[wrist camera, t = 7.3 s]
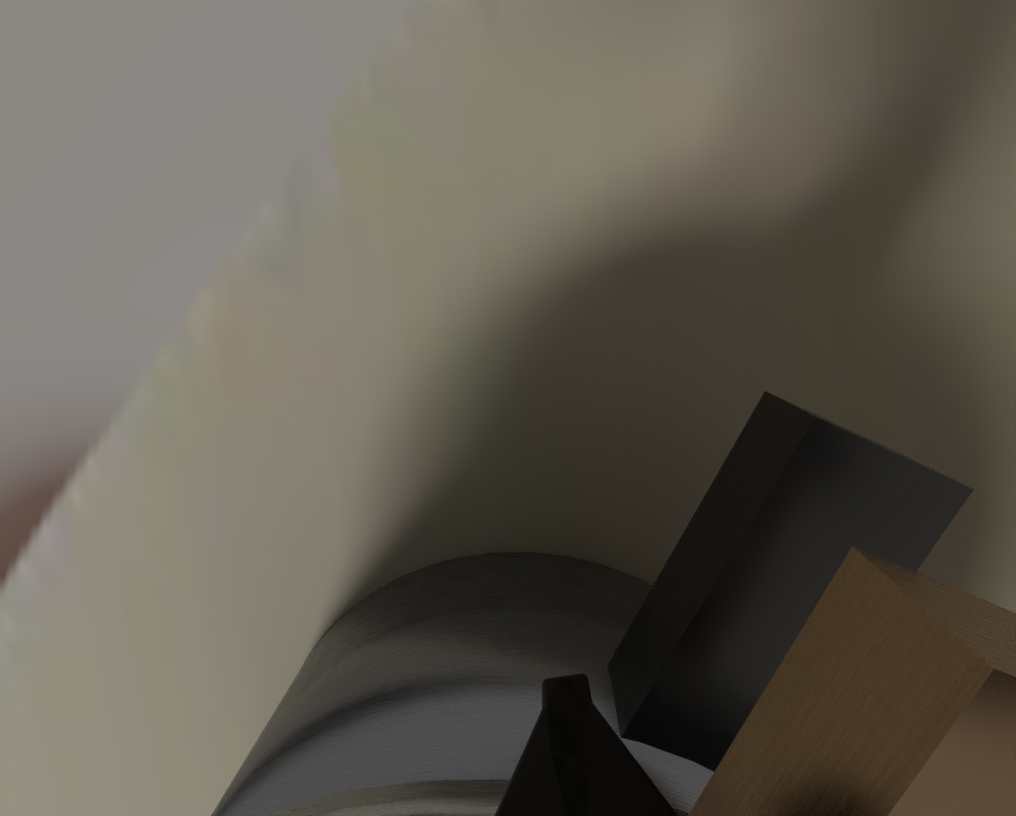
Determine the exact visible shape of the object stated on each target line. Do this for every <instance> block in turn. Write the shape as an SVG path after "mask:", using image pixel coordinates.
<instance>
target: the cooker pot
mask: <svg viewBox="0 0 1016 816" xmlns="http://www.w3.org/2000/svg"><path fill="white" fill-rule="evenodd" d="M972 491H973V489H972V488H970V487H967V486H965V485H963V484H961V483H959V482H957V481H955V480H953V479H951V478H949V477H947V476H945V475H943V474H941V473H939V472H937V471H935V470H933V469H931V468H929V467H927V466H924V465H922V464H920V463H918V462H916V461H914V460H912V459H910V458H908V457H906V456H904V455H902V454H900V453H898V452H896V451H894V450H892V449H889V448H887V447H885V446H883V445H881V444H879V443H876V442H874V441H872V440H870V439H868V438H866V437H863V436H861V435H859V434H857V433H855V432H853V431H850V430H848V429H846V428H844V427H842V426H840V425H837V424H835V423H833V422H831V421H829V420H827V419H824V418H822V417H820V416H818V415H816V414H814V413H811V412H809V411H807V410H805V409H803V408H801V407H798V406H796V405H794V404H792V403H790V402H788V401H785V400H783V399H781V398H779V397H777V396H775V395H772V394H770V393H768V392H766V391H765V392H764V394H763V396H762V398H761V399H760V401H759V403H758V404H757V406H756V408H755V410H754V411H753V413H752V415H751V417H750V418H749V420H748V422H747V424H746V425H745V427H744V429H743V431H742V432H741V434H740V436H739V437H738V439H737V441H736V443H735V444H734V446H733V448H732V450H731V451H730V453H729V455H728V457H727V458H726V460H725V462H724V464H723V465H722V467H721V469H720V470H719V472H718V474H717V476H716V477H715V479H714V481H713V483H712V484H711V486H710V488H709V490H708V491H707V493H706V495H705V496H704V498H703V500H702V502H701V503H700V505H699V507H698V509H697V510H696V512H695V514H694V516H693V517H692V519H691V521H690V523H689V524H688V526H687V528H686V529H685V531H684V533H683V535H682V536H681V538H680V540H679V542H678V543H677V545H676V547H675V549H674V550H673V552H672V554H671V556H670V557H669V559H668V561H667V562H666V564H665V566H664V568H663V569H662V571H661V573H660V575H659V576H658V578H657V580H656V582H655V583H654V585H653V586H651V585H649V584H647V583H645V582H643V581H641V580H639V579H638V578H636V577H633V576H630V575H628V574H625V573H622V572H620V571H617V570H614V569H611V568H609V567H606V566H603V565H600V564H596V563H591V562H587V561H583V560H579V559H575V558H570V557H565V556H556V555H547V554H538V553H493V554H485V555H477V556H469V557H462V558H458V559H454V560H450V561H446V562H442V563H438V564H435V565H431V566H428V567H425V568H423V569H420V570H418V571H415V572H413V573H410V574H408V575H405V576H403V577H400V578H398V579H396V580H394V581H392V582H391V583H389V584H387V585H385V586H383V587H382V588H380V589H378V590H376V591H375V592H373V593H371V594H370V595H368V596H367V597H366V598H364V599H363V600H362V601H360V602H359V603H358V604H356V605H355V606H354V607H352V608H351V609H350V610H348V611H347V612H346V613H345V614H344V615H343V616H342V617H341V618H340V619H339V620H338V621H337V622H336V623H335V624H334V625H333V626H332V627H331V628H330V629H329V630H328V631H327V632H326V633H325V634H324V636H323V637H322V639H321V640H320V641H319V643H318V644H317V645H316V647H315V648H314V650H313V651H312V652H311V654H310V655H309V656H308V658H307V660H306V661H305V663H304V665H303V666H302V668H301V670H300V671H299V673H298V674H297V676H296V678H295V679H294V681H293V683H292V684H291V686H290V687H289V689H288V691H287V692H286V694H285V696H284V697H283V699H282V701H281V702H280V704H279V705H278V707H277V709H276V710H275V712H274V714H273V715H272V717H271V719H270V720H269V722H268V723H267V725H266V727H265V728H264V730H263V732H262V733H261V735H260V737H259V738H258V740H257V741H256V743H255V745H254V746H253V748H252V750H251V751H250V753H249V755H248V756H247V758H246V759H245V761H244V763H243V764H242V766H241V768H240V769H239V771H238V773H237V774H236V776H235V777H234V779H233V781H232V782H231V784H230V786H229V787H228V789H227V790H226V792H225V794H224V795H223V797H222V799H221V800H220V802H219V804H218V805H217V807H216V808H215V810H214V812H213V813H212V815H211V816H267V815H269V814H272V813H275V812H277V811H280V810H282V809H285V808H288V807H290V806H293V805H297V804H301V803H305V802H309V801H313V800H317V799H321V798H325V797H329V796H333V795H337V794H341V793H345V792H350V791H354V790H358V789H365V788H373V787H381V786H389V785H397V784H405V783H413V782H421V781H429V780H498V779H505V780H511V777H512V775H513V773H514V771H515V768H516V766H517V764H518V762H519V759H520V757H521V755H522V753H523V750H524V748H525V746H526V744H527V741H528V739H529V737H530V735H531V733H532V730H533V728H534V726H535V724H536V721H537V719H538V717H539V715H540V712H541V710H542V682H543V681H544V680H545V679H547V678H554V677H560V676H566V675H573V674H579V673H584V674H586V676H587V677H588V681H589V686H590V692H591V697H592V702H593V704H594V705H595V706H596V708H597V709H598V710H599V712H600V713H601V714H602V716H603V717H604V718H605V719H606V721H607V722H608V723H609V725H610V726H611V727H612V729H613V730H614V731H615V733H616V734H617V735H618V737H619V738H620V739H621V741H622V742H623V743H624V745H625V746H626V747H627V749H628V750H629V751H630V753H631V754H632V755H633V757H634V758H635V759H636V761H637V762H638V763H639V764H640V766H641V767H642V768H643V770H644V771H645V772H646V774H647V775H648V776H649V778H650V779H651V780H652V782H653V783H654V784H655V786H656V787H657V788H658V790H659V791H660V792H661V794H662V795H663V796H664V798H665V799H666V800H667V802H668V803H669V804H670V805H671V807H672V808H674V809H677V810H681V811H684V812H687V813H690V811H691V809H692V808H693V806H694V805H695V803H696V801H697V800H698V798H699V796H700V795H701V793H702V791H703V790H704V788H705V787H706V785H707V783H708V782H709V780H710V778H711V777H712V775H713V773H714V772H715V770H716V769H717V767H718V765H719V764H720V762H721V760H722V759H723V757H724V755H725V754H726V752H727V751H728V749H729V747H730V746H731V744H732V742H733V741H734V739H735V737H736V736H737V734H738V733H739V731H740V729H741V728H742V726H743V724H744V723H745V721H746V719H747V718H748V716H749V715H750V713H751V711H752V710H753V708H754V706H755V705H756V703H757V701H758V700H759V698H760V697H761V695H762V693H763V692H764V690H765V688H766V687H767V685H768V683H769V682H770V680H771V679H772V677H773V675H774V674H775V672H776V670H777V669H778V667H779V665H780V664H781V662H782V661H783V659H784V657H785V656H786V654H787V652H788V651H789V649H790V647H791V646H792V644H793V643H794V641H795V639H796V638H797V636H798V634H799V633H800V631H801V629H802V628H803V626H804V625H805V623H806V621H807V620H808V618H809V616H810V615H811V613H812V611H813V610H814V608H815V607H816V605H817V603H818V602H819V600H820V598H821V597H822V595H823V593H824V592H825V590H826V589H827V587H828V585H829V584H830V582H831V580H832V579H833V577H834V575H835V574H836V572H837V571H838V569H839V567H840V566H841V564H842V562H843V561H844V559H845V557H846V556H847V554H848V553H849V551H850V549H851V548H852V546H853V547H855V548H858V549H860V550H862V551H865V552H867V553H870V554H872V555H875V556H877V557H880V558H882V559H885V560H887V561H889V562H892V563H894V564H897V565H899V566H902V567H904V568H907V569H909V570H912V571H914V572H916V571H917V569H918V568H919V566H920V565H921V563H922V562H923V561H924V559H925V558H926V556H927V555H928V553H929V552H930V551H931V549H932V548H933V546H934V545H935V544H936V542H937V541H938V539H939V538H940V536H941V535H942V534H943V532H944V531H945V529H946V528H947V526H948V525H949V524H950V522H951V521H952V519H953V518H954V516H955V515H956V514H957V512H958V511H959V509H960V508H961V506H962V505H963V504H964V502H965V501H966V499H967V498H968V496H969V495H970V494H971V492H972Z"/></svg>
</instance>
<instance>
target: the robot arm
mask: <svg viewBox="0 0 1016 816" xmlns="http://www.w3.org/2000/svg"><path fill="white" fill-rule="evenodd" d="M494 816H678V815H677V813H676V812H675V811H674V809H673V808H672V807H671V805H670V804H669V803H668V802H667V800H666V799H665V798H664V796H663V795H662V794H661V792H660V791H659V790H658V788H657V787H656V786H655V784H654V783H653V782H652V780H651V779H650V778H649V776H648V775H647V774H646V772H645V771H644V770H643V768H642V767H641V766H640V764H639V763H638V762H637V761H636V759H635V758H634V757H633V755H632V754H631V753H630V751H629V750H628V749H627V747H626V746H625V745H624V743H623V742H622V741H621V739H620V738H619V737H618V735H617V734H616V733H615V731H614V730H613V729H612V727H611V726H610V725H609V723H608V722H607V721H606V719H605V718H604V717H603V716H602V714H601V713H600V712H599V710H598V709H597V708H596V706H595V705H594V704H593V702H592V697H591V692H590V686H589V681H588V677H587V676H586V674H584V673H579V674H573V675H566V676H560V677H554V678H547V679H545V680H544V681H543V682H542V710H541V712H540V715H539V717H538V719H537V721H536V724H535V726H534V728H533V730H532V733H531V735H530V737H529V739H528V741H527V744H526V746H525V748H524V750H523V753H522V755H521V757H520V759H519V762H518V764H517V766H516V768H515V771H514V773H513V775H512V777H511V780H510V782H509V784H508V786H507V788H506V791H505V793H504V795H503V797H502V800H501V802H500V804H499V806H498V809H497V811H496V813H495V815H494Z"/></svg>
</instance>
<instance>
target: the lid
mask: <svg viewBox="0 0 1016 816" xmlns="http://www.w3.org/2000/svg"><path fill="white" fill-rule="evenodd" d="M509 782H510V780H505V779H498V780H429V781H421V782H413V783H405V784H397V785H389V786H381V787H373V788H365V789H358V790H354V791H350V792H345V793H341V794H337V795H333V796H329V797H325V798H321V799H317V800H313V801H309V802H305V803H301V804H297V805H293V806H290V807H288V808H285V809H282V810H280V811H277V812H275V813H272V814H269V815H267V816H494V815H495V813H496V811H497V809H498V806H499V804H500V802H501V800H502V797H503V795H504V793H505V791H506V788H507V786H508V784H509ZM673 809H674V808H673ZM674 811H675V812H676V813H677V815H678V816H1016V613H1015V612H1012V611H1010V610H1007V609H1005V608H1002V607H1000V606H997V605H995V604H993V603H990V602H988V601H985V600H983V599H980V598H978V597H975V596H973V595H970V594H968V593H966V592H963V591H961V590H958V589H956V588H953V587H951V586H948V585H946V584H943V583H941V582H939V581H936V580H934V579H931V578H929V577H926V576H924V575H921V574H919V573H916V572H914V571H912V570H909V569H907V568H904V567H902V566H899V565H897V564H894V563H892V562H889V561H887V560H885V559H882V558H880V557H877V556H875V555H872V554H870V553H867V552H865V551H862V550H860V549H858V548H855V547H853V546H852V548H851V549H850V551H849V553H848V554H847V556H846V557H845V559H844V561H843V562H842V564H841V566H840V567H839V569H838V571H837V572H836V574H835V575H834V577H833V579H832V580H831V582H830V584H829V585H828V587H827V589H826V590H825V592H824V593H823V595H822V597H821V598H820V600H819V602H818V603H817V605H816V607H815V608H814V610H813V611H812V613H811V615H810V616H809V618H808V620H807V621H806V623H805V625H804V626H803V628H802V629H801V631H800V633H799V634H798V636H797V638H796V639H795V641H794V643H793V644H792V646H791V647H790V649H789V651H788V652H787V654H786V656H785V657H784V659H783V661H782V662H781V664H780V665H779V667H778V669H777V670H776V672H775V674H774V675H773V677H772V679H771V680H770V682H769V683H768V685H767V687H766V688H765V690H764V692H763V693H762V695H761V697H760V698H759V700H758V701H757V703H756V705H755V706H754V708H753V710H752V711H751V713H750V715H749V716H748V718H747V719H746V721H745V723H744V724H743V726H742V728H741V729H740V731H739V733H738V734H737V736H736V737H735V739H734V741H733V742H732V744H731V746H730V747H729V749H728V751H727V752H726V754H725V755H724V757H723V759H722V760H721V762H720V764H719V765H718V767H717V769H716V770H715V772H714V773H713V775H712V777H711V778H710V780H709V782H708V783H707V785H706V787H705V788H704V790H703V791H702V793H701V795H700V796H699V798H698V800H697V801H696V803H695V805H694V806H693V808H692V809H691V811H690V813H687V812H684V811H681V810H677V809H674Z"/></svg>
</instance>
